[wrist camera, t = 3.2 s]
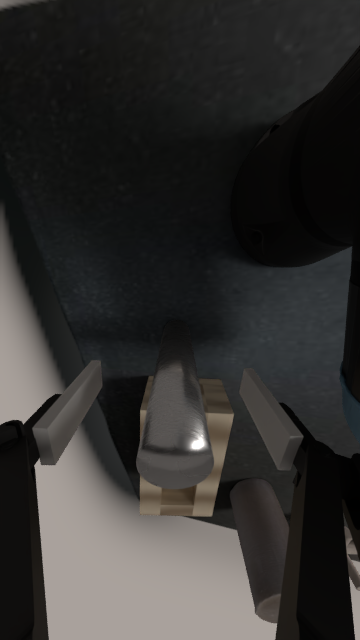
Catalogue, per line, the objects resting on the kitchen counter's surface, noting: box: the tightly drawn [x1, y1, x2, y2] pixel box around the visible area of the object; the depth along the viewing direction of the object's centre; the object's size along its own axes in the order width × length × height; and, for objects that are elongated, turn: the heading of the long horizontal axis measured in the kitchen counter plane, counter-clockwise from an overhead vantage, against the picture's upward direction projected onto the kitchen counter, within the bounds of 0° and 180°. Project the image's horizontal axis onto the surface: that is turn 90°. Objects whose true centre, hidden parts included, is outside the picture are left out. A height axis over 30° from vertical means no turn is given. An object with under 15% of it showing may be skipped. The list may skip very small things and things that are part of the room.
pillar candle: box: [230, 478, 289, 623], centre depth 31 cm, size 10×10×15 cm
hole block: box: [140, 376, 234, 516], centre depth 28 cm, size 22×12×7 cm, turn 176°
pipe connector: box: [344, 526, 360, 591], centre depth 36 cm, size 10×10×10 cm
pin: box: [136, 320, 214, 489], centre depth 17 cm, size 4×4×18 cm
